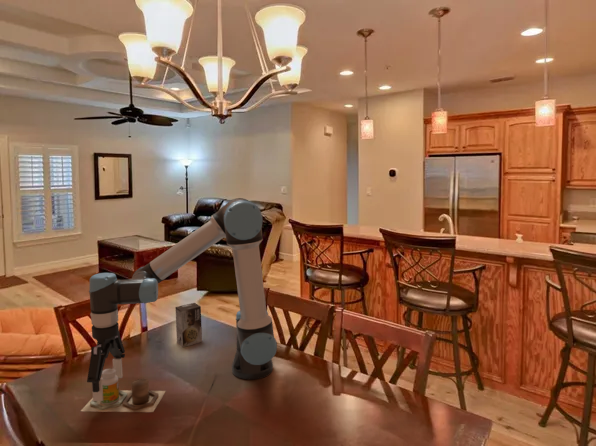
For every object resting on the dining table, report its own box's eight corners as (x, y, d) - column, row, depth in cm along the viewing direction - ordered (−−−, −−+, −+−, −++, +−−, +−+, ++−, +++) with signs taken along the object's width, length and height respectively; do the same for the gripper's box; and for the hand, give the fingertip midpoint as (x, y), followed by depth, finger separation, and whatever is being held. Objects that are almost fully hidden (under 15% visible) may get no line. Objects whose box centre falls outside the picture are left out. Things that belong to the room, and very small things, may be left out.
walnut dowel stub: (151, 396, 133) (150, 378, 132) (145, 405, 128) (145, 387, 127) (136, 396, 133) (135, 378, 132) (129, 405, 128) (128, 386, 127)
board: (166, 395, 137) (165, 388, 136) (153, 416, 125) (153, 409, 124) (99, 394, 137) (99, 387, 136) (80, 415, 125) (80, 408, 124)
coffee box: (195, 337, 184) (194, 302, 182) (202, 342, 179) (201, 306, 177) (176, 342, 178) (174, 306, 176) (182, 347, 173) (181, 310, 171)
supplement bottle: (98, 406, 127) (97, 376, 126) (102, 396, 132) (100, 368, 131) (117, 403, 129) (116, 374, 127) (120, 394, 134) (119, 366, 133)
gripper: (111, 309, 140) (114, 369, 142) (70, 340, 115) (75, 411, 118) (133, 310, 140) (136, 369, 142) (97, 340, 115) (101, 411, 118)
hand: (108, 388), depth 130 cm, fingers open, 13 cm apart
